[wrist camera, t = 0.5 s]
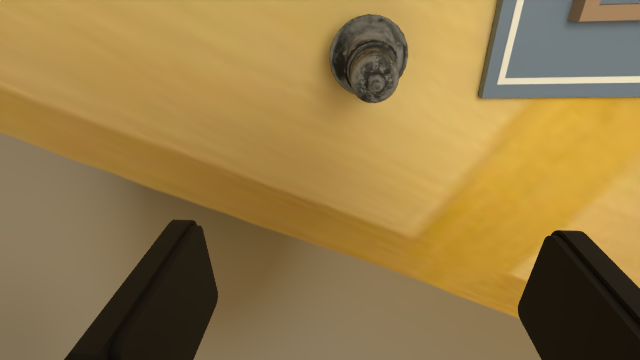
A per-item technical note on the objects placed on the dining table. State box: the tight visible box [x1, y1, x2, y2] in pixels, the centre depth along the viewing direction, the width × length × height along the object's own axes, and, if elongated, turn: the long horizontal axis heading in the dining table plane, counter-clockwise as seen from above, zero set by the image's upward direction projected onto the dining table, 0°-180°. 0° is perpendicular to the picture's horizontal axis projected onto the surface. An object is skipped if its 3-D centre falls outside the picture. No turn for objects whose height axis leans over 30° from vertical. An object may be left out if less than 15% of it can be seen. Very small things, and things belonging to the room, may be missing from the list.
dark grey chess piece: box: [330, 14, 408, 103], centre depth 23 cm, size 6×6×12 cm
